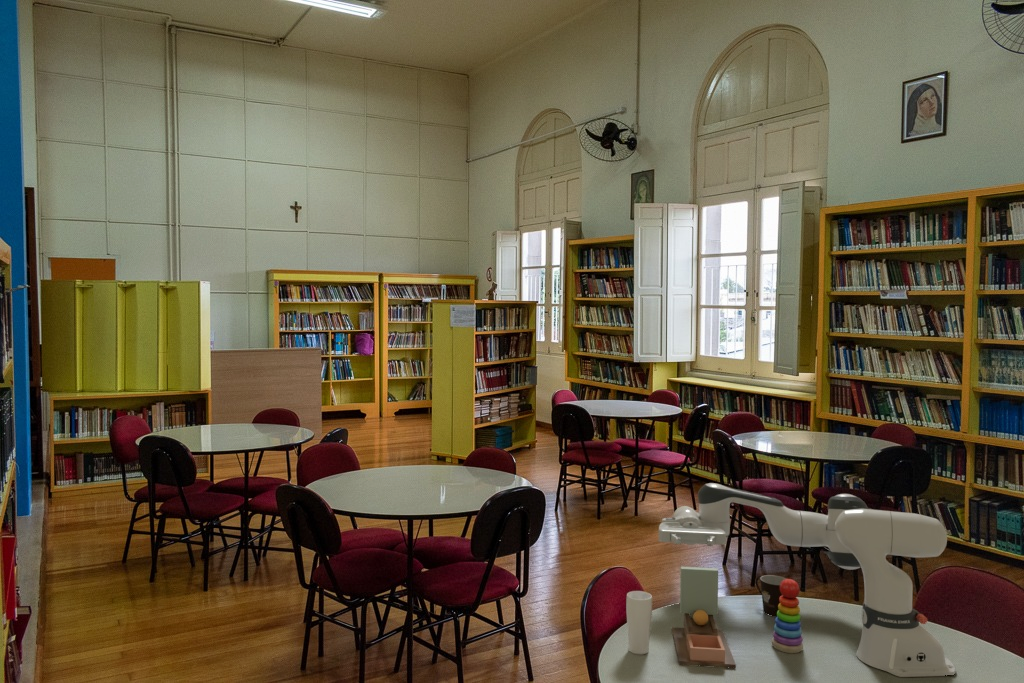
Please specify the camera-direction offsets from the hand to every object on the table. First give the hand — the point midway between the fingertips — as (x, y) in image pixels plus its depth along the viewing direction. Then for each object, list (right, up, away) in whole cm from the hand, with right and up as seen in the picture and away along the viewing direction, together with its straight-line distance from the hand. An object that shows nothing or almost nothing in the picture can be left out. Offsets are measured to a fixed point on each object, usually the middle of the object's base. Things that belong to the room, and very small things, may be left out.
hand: (694, 542), depth 218 cm
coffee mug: (+25, -23, +6) cm, 35 cm away
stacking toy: (+20, -23, -20) cm, 37 cm away
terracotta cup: (-4, -23, -27) cm, 35 cm away
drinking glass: (-20, -23, -23) cm, 38 cm away
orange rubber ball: (-3, -16, -17) cm, 24 cm away
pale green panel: (-2, -17, -13) cm, 22 cm away
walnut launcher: (-3, -23, -21) cm, 31 cm away
